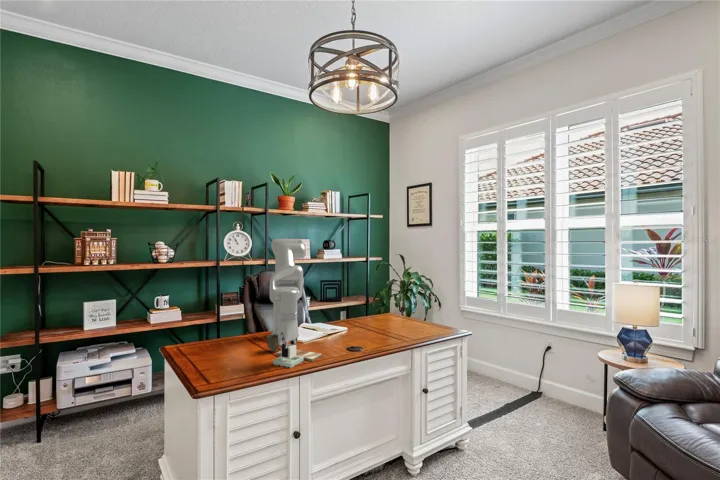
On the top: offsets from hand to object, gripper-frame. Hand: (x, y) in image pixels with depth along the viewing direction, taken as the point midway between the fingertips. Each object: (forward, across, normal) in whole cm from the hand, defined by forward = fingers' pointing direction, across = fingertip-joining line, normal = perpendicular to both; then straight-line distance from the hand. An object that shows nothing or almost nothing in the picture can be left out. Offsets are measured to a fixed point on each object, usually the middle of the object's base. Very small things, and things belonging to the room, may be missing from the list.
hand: (288, 354), depth 172 cm
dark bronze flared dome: (+4, -11, -17) cm, 21 cm away
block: (+1, 0, 0) cm, 1 cm away
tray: (+4, 0, 0) cm, 4 cm away
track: (+4, -11, -2) cm, 12 cm away
